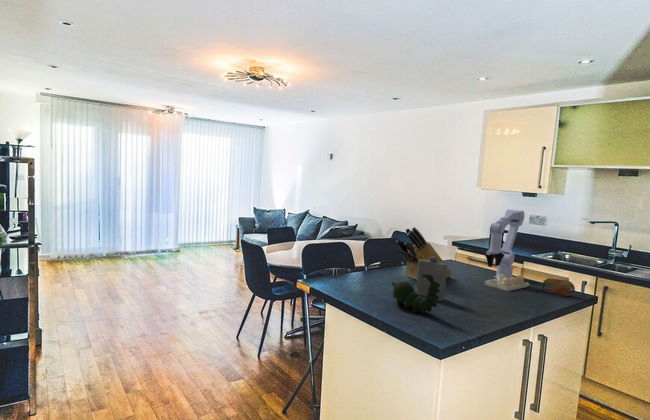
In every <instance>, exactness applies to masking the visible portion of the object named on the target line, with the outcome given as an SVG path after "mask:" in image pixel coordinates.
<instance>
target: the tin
mask: <svg viewBox="0 0 650 420" xmlns="http://www.w3.org/2000/svg"><path fill="white" fill-rule="evenodd" d="M542 289H543V291H544V292H545V293H549V294H550V293H551V294H556V295H558V296H561V297H562V296H563V297H570V296H572V295H574V293H575V291H576V287H575V284H574V283H573V282H571V281H570V280H566V279H558V278H550V277H548V278H546V279H545V280H543V282H542Z"/></svg>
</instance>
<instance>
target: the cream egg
mask: <svg viewBox="0 0 650 420" xmlns="http://www.w3.org/2000/svg"><path fill="white" fill-rule="evenodd" d="M504 278H506V277H505V275H504V274H499V275H498V277H497V278H496V279H497V281H500V282H502V280H503V279H504Z"/></svg>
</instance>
